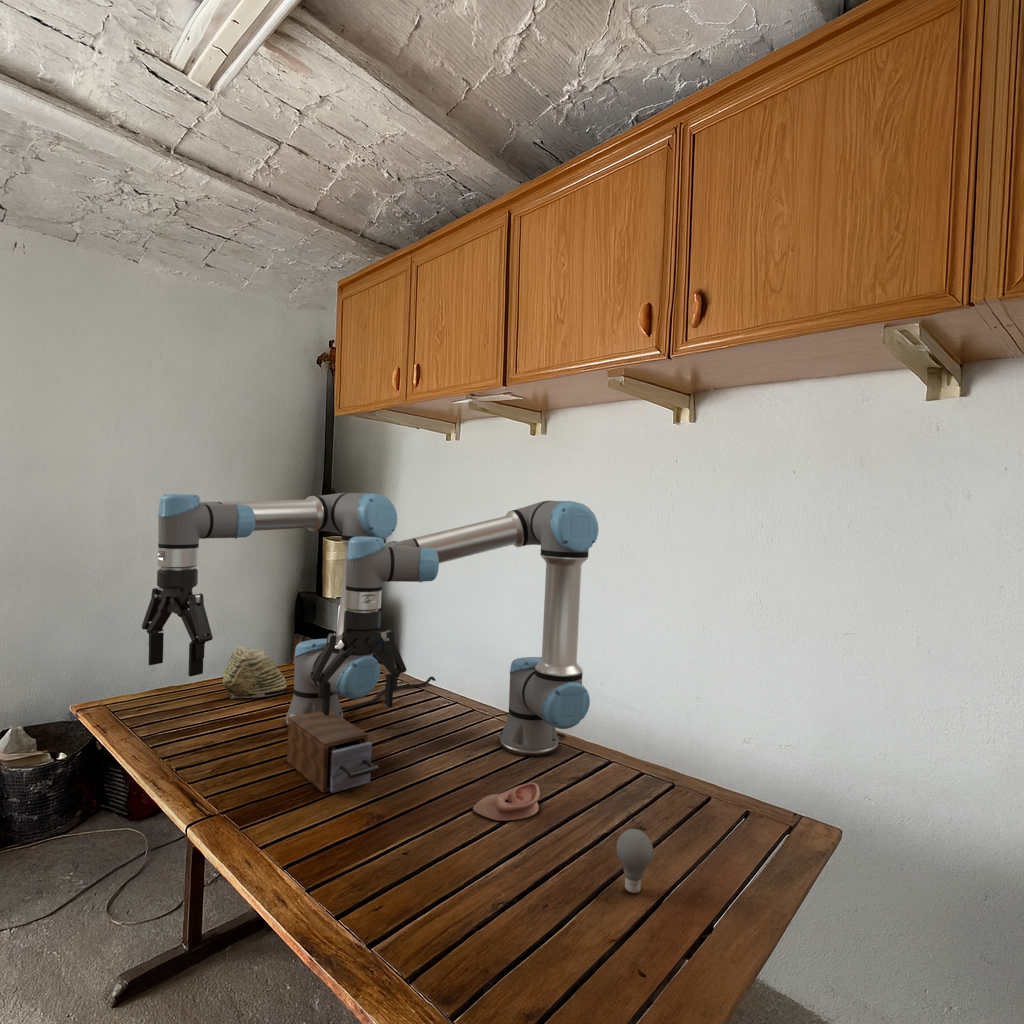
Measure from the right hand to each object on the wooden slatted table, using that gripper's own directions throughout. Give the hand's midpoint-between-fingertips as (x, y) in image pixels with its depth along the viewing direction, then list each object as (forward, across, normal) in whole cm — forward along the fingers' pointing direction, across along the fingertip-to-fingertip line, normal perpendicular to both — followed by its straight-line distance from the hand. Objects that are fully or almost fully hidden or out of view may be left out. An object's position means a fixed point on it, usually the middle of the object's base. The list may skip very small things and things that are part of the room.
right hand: (357, 709), depth 134 cm
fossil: (+19, -7, +79) cm, 81 cm away
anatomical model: (+18, +26, -19) cm, 37 cm away
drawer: (+18, -1, +9) cm, 20 cm away
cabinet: (+19, -2, +15) cm, 24 cm away
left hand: (-7, -34, +18) cm, 39 cm away
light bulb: (+18, +31, -53) cm, 64 cm away
